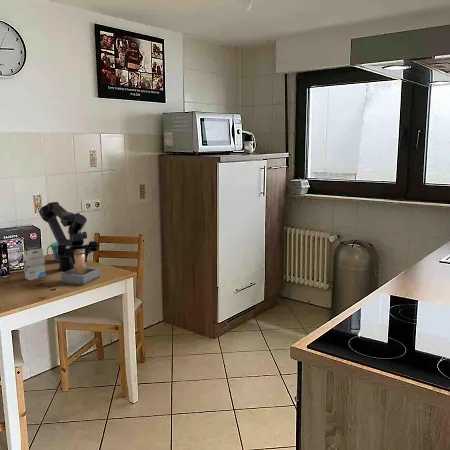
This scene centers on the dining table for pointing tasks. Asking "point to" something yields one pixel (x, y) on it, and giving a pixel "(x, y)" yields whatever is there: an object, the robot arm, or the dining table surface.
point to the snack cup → (54, 248)
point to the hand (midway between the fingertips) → (80, 262)
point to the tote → (80, 276)
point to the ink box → (34, 264)
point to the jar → (79, 262)
